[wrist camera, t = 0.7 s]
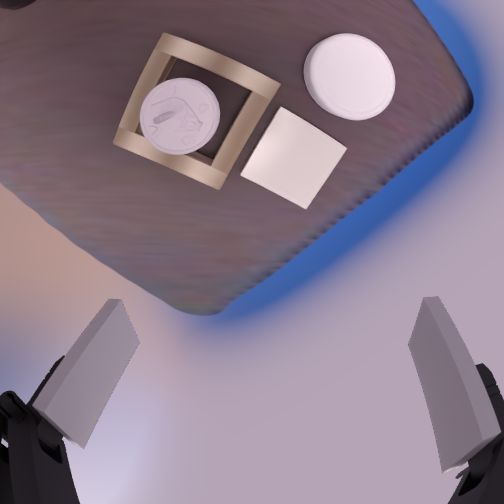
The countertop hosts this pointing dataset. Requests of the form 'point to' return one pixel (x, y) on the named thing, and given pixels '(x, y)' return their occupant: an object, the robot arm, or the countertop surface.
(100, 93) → the countertop surface
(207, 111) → the smoothie
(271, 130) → the tile
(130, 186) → the countertop surface
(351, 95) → the coaster
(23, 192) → the countertop surface
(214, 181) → the square wooden frame
